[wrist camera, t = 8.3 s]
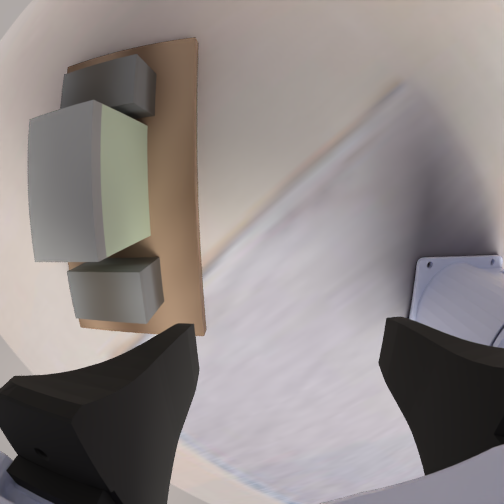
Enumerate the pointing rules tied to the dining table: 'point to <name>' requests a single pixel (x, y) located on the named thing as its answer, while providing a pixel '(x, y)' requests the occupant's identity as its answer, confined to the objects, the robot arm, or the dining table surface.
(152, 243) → the post base
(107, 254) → the bracket block
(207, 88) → the dining table surface
